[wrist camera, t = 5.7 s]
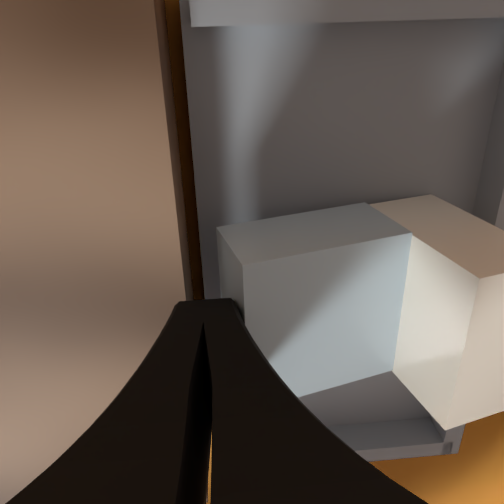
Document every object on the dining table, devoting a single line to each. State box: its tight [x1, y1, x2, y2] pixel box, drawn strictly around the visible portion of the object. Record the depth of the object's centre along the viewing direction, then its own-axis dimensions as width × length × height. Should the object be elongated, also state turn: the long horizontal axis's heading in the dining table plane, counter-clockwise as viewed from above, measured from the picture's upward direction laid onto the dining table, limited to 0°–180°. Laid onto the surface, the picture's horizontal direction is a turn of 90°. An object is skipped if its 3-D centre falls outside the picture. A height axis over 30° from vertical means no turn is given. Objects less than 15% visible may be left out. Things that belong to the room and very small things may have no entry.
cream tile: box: [369, 194, 504, 430], centre depth 12 cm, size 4×4×2 cm
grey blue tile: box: [216, 202, 412, 397], centre depth 12 cm, size 4×4×2 cm
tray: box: [179, 0, 504, 462], centre depth 13 cm, size 14×8×2 cm, turn 1°
